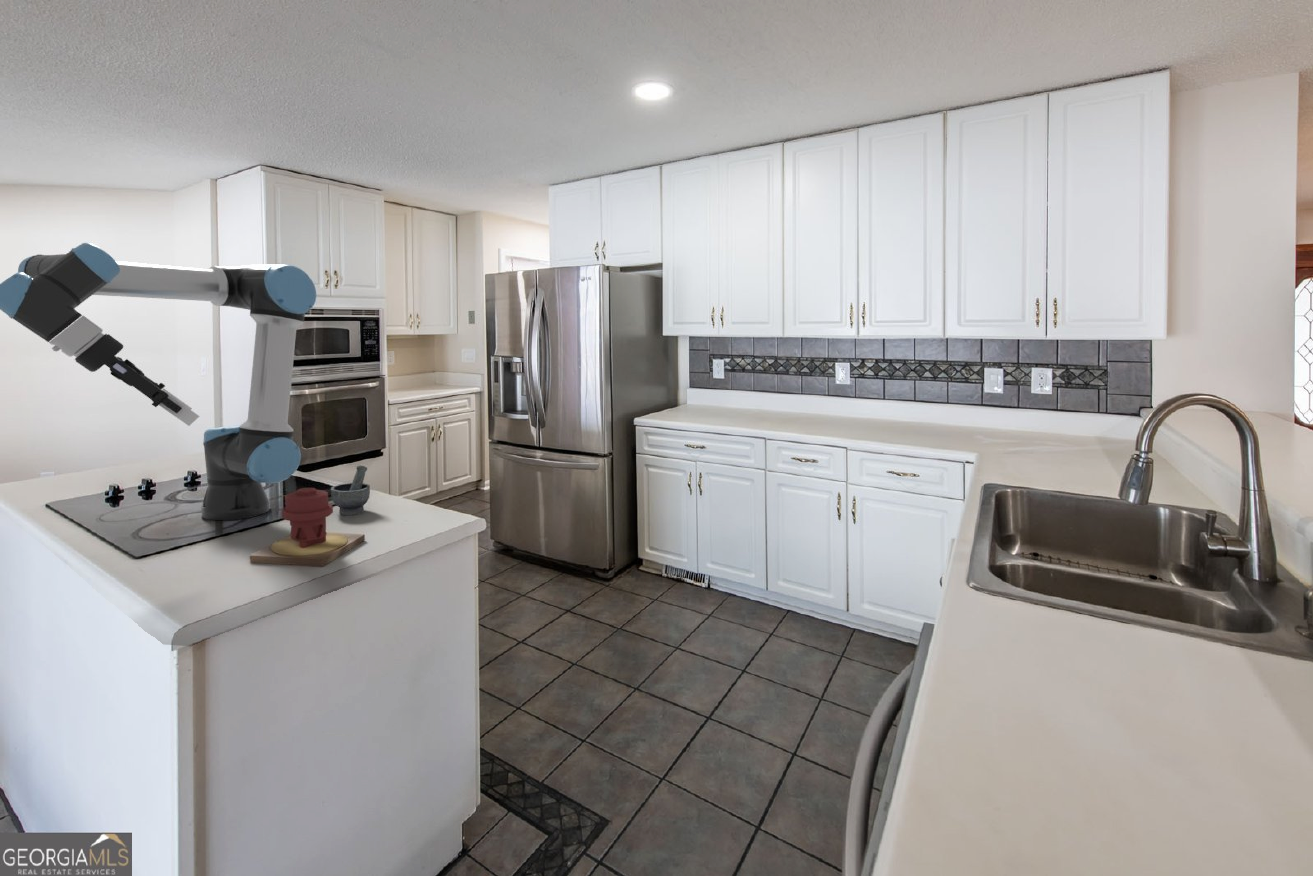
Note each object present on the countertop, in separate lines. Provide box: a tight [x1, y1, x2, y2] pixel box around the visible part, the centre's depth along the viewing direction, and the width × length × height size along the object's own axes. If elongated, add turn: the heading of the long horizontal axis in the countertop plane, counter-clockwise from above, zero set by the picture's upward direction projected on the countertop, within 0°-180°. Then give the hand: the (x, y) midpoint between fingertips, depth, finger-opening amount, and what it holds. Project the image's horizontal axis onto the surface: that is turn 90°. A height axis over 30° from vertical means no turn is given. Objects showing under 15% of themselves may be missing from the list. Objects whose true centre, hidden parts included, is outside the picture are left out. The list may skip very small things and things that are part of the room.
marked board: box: [249, 531, 366, 567], centre depth 142 cm, size 17×16×2 cm
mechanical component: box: [280, 487, 334, 548], centre depth 141 cm, size 12×10×10 cm
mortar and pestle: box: [330, 465, 371, 516], centre depth 172 cm, size 11×9×12 cm
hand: (190, 416), depth 136 cm, fingers open, 13 cm apart
